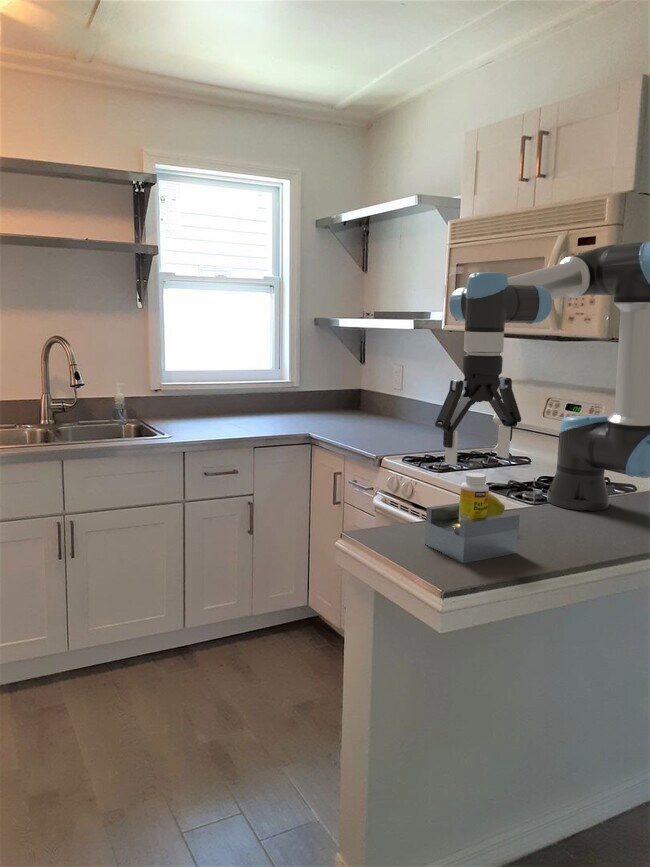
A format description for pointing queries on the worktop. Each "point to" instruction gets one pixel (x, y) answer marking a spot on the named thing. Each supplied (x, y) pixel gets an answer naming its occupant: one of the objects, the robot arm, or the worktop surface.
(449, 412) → the robot arm
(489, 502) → the lemon
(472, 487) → the supplement bottle
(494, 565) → the worktop surface
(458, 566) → the worktop surface
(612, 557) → the worktop surface
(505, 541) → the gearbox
